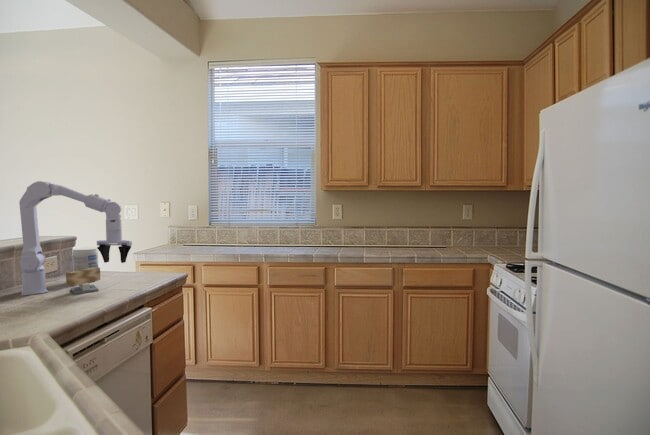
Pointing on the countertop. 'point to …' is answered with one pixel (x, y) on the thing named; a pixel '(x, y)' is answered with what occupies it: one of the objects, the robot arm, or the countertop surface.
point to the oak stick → (82, 276)
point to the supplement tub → (85, 258)
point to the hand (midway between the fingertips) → (115, 262)
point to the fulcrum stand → (84, 288)
